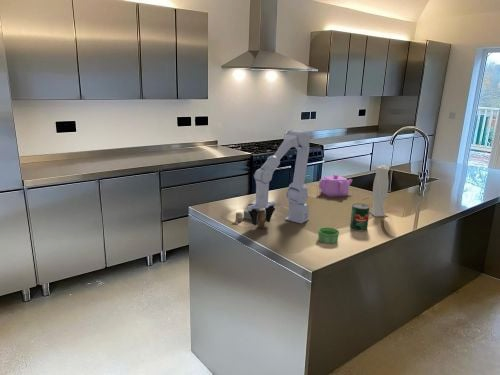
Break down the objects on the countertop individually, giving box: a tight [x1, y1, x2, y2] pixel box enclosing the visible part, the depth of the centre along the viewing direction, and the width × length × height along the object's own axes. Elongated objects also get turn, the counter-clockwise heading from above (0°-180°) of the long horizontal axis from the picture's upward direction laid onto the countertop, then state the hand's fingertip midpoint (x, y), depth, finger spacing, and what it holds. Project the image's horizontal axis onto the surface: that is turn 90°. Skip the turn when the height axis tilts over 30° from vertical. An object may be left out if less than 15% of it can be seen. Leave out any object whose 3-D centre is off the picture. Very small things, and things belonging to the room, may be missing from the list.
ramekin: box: [317, 226, 340, 245], centre depth 160 cm, size 9×9×4 cm
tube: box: [246, 197, 256, 208], centre depth 205 cm, size 5×5×25 cm
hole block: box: [243, 208, 273, 223], centre depth 186 cm, size 10×10×4 cm
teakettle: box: [318, 174, 353, 198], centre depth 231 cm, size 17×17×12 cm
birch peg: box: [235, 211, 244, 223], centre depth 180 cm, size 3×3×4 cm
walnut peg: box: [257, 210, 266, 229], centre depth 172 cm, size 3×3×8 cm
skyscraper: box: [369, 163, 391, 218], centre depth 191 cm, size 8×8×28 cm
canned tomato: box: [349, 202, 371, 232], centre depth 174 cm, size 8×8×11 cm
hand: (261, 223), depth 173 cm, fingers open, 7 cm apart
